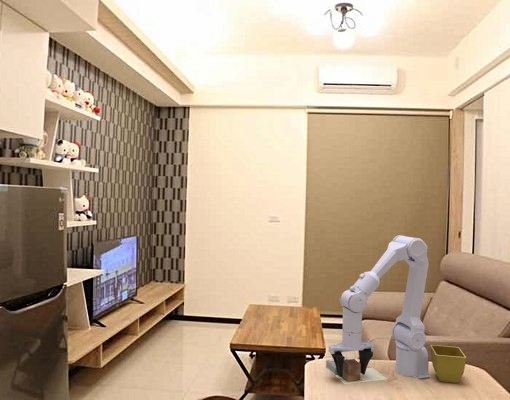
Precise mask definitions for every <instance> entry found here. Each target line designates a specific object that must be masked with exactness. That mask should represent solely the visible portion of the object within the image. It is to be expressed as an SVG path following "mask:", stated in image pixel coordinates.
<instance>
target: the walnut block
mask: <svg viewBox="0 0 510 400" xmlns="http://www.w3.org/2000/svg"><path fill="white" fill-rule="evenodd" d="M347 359H348V360H344V363H343V376H342V378H343V379H344V380H345V381H346V382H347V383H350V382H358V381H361V378H360V373H361V364H360V363H359V362H358V360H357V359H355V358H350V359H349V358H347Z"/></svg>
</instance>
